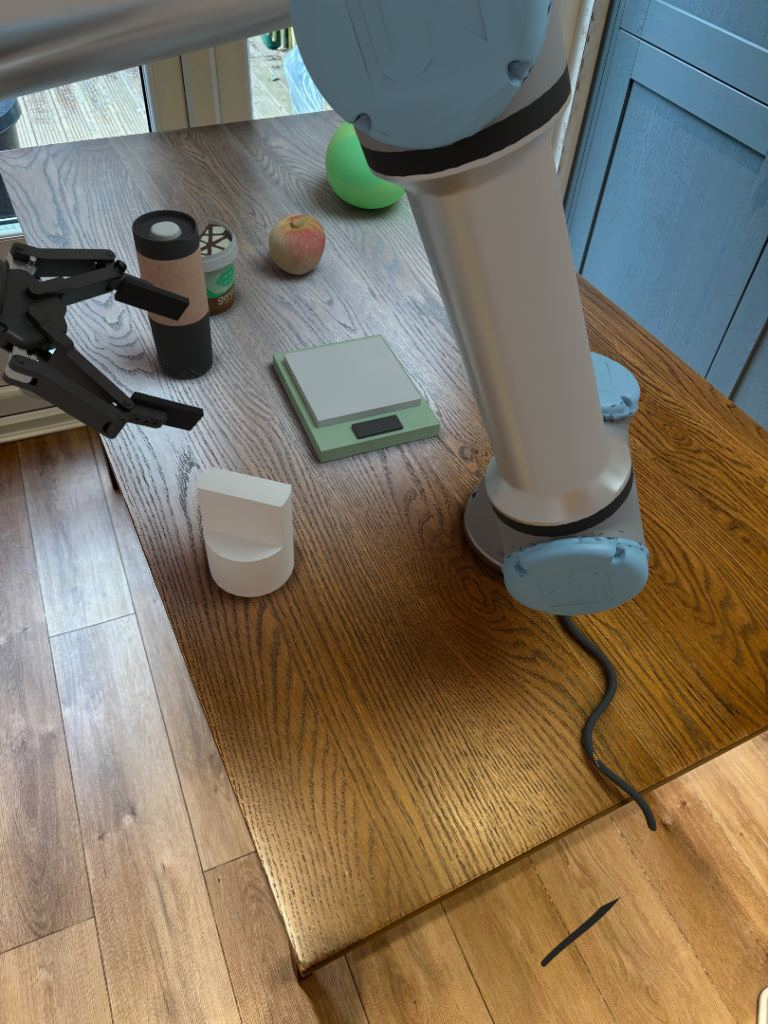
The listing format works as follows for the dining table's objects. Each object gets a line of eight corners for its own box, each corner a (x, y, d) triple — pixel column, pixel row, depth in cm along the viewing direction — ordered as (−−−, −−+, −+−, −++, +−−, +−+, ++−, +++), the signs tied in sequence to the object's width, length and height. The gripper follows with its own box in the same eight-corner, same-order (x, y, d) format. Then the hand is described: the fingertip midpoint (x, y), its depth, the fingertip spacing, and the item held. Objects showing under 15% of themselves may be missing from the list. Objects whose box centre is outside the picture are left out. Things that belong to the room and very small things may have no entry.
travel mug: (153, 351, 104) (126, 212, 89) (208, 342, 106) (191, 205, 91) (163, 385, 99) (135, 245, 84) (220, 375, 101) (204, 237, 86)
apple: (328, 256, 123) (329, 210, 117) (319, 286, 117) (320, 238, 111) (275, 251, 123) (273, 203, 117) (264, 279, 117) (262, 231, 111)
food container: (226, 329, 108) (219, 266, 101) (185, 321, 109) (176, 258, 101) (253, 284, 116) (249, 223, 109) (215, 277, 117) (208, 216, 109)
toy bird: (329, 175, 143) (330, 92, 132) (417, 182, 143) (426, 100, 132) (320, 221, 131) (320, 133, 120) (416, 229, 131) (426, 143, 120)
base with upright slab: (196, 585, 78) (180, 509, 69) (228, 523, 84) (217, 445, 75) (278, 605, 77) (273, 531, 68) (305, 541, 83) (303, 464, 74)
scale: (438, 435, 96) (442, 416, 94) (321, 463, 91) (321, 444, 89) (380, 345, 108) (381, 326, 106) (273, 365, 103) (272, 346, 101)
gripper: (-62, 213, 67) (162, 292, 80) (-80, 446, 56) (183, 492, 69) (-40, 148, 62) (194, 244, 76) (-54, 388, 51) (223, 450, 65)
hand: (190, 362), depth 73 cm, fingers open, 13 cm apart
